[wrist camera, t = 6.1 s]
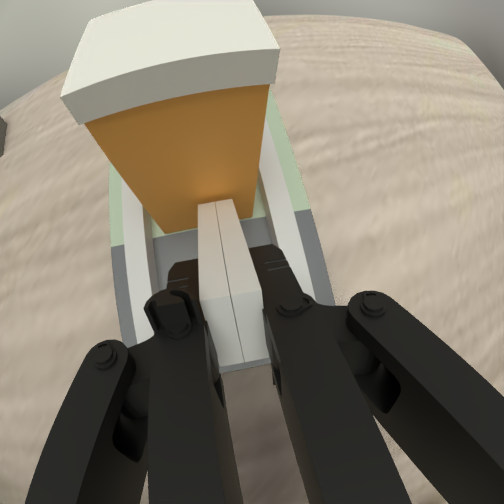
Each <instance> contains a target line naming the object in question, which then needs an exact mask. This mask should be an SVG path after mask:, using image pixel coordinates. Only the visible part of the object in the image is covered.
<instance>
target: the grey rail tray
mask: <svg viewBox="0 0 504 504" xmlns="http://www.w3.org/2000/svg"><path fill="white" fill-rule="evenodd" d="M109 218H110V241H111V256H112V268H113V278H114V287H115V295H116V303H117V310H118V317H119V324H120V330H121V336H122V341H123V344H124V345H125V346H126V347H127V348H129V347H131V346H134V345H136V344H139V343H142V342H144V341H146V340H148V339H149V338H151V337H152V336H153V335H154V331H153V329H152V327H151V325H150V323H149V320H148V318H147V316H146V314H145V311H144V309H143V308H144V306H145V303H146V301H147V300H148V299H149V298H150V297H151V296H152V295H154V294H156V293H157V292H159V291H161V290H164V289H166V288H167V283H168V282H167V279H168V272H169V270H170V269H171V267H172V266H173V265H174V263H175V262H181V261H186V260H191V259H197V258H198V227H197V228H192V229H187V230H182V231H177V232H172V233H167V234H164V232H163V231H162V230H161V228H160V227H159V226H158V225H157V223H156V222H155V221H154V219H153V218H152V217H151V216H150V214H149V213H148V212H147V210H146V209H145V208H144V206H143V205H142V204H141V202H140V201H139V200H138V199H137V197H136V196H135V195H134V193H133V192H132V190H131V189H130V188H129V186H128V185H127V184H126V182H125V181H124V180H123V178H122V177H121V176H120V174H119V173H118V171H117V170H116V169H115V167H114V166H113V164H112V163H111V162H110V168H109ZM239 222H240V225H241V228H242V231H243V234H244V237H245V240H246V243H247V246H248V248H252V247H257V246H263V245H268V244H274V245H275V246H277V247H278V248H280V249H281V250H282V251H283V253H284V255H285V257H286V260H287V261H288V263H289V265H290V267H291V269H292V271H293V273H294V275H295V277H296V279H297V281H298V283H299V285H300V287H301V289H302V291H303V292H304V293H306V294H308V295H310V296H311V297H312V298H313V299H314V300H315V301H316V302H317V303H318V304H322V305H328V306H336V305H335V301H334V297H333V292H332V288H331V284H330V280H329V276H328V272H327V268H326V264H325V260H324V256H323V252H322V248H321V244H320V241H319V237H318V233H317V230H316V226H315V222H314V219H313V215H312V212H311V208H310V205H309V202H308V198H307V195H306V192H305V188H304V185H303V182H302V179H301V175H300V172H299V169H298V166H297V163H296V160H295V157H294V154H293V151H292V148H291V145H290V142H289V139H288V136H287V133H286V130H285V127H284V124H283V121H282V119H281V116H280V113H279V110H278V107H277V105H276V102H275V99H274V97H273V94H272V91H271V90H269V93H268V101H267V108H266V116H265V123H264V131H263V138H262V146H261V154H260V161H259V169H258V177H257V185H256V192H255V200H254V208H253V216H252V217H250V218H245V219H239ZM239 339H240V337H239ZM240 344H241V342H240ZM241 349H242V347H241ZM242 354H243V352H242ZM243 359H244V356H243ZM270 363H271V360H270V356H269V358H264V359H260V360H255V361H249V362H245V361H244V363H239V364H233V365H228V366H222V367H220V366H219V372H220V373H225V372H231V371H236V370H241V369H246V368H251V367H256V366H261V365H266V364H270ZM218 364H219V362H218Z"/></svg>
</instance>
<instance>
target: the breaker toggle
mask: <svg viewBox="0 0 504 504" xmlns="http://www.w3.org/2000/svg"><path fill="white" fill-rule="evenodd" d="M279 53H280V47H279V46H278V44H277V42H276V40H275V38H274V36H273V34H272V32H271V31H270V29H269V27H268V25H267V23H266V22H265V20H264V18H263V16H262V15H261V13H260V11H259V10H258V8H257V6H256V5H255V3H254V1H253V0H153V1H149V2H145V3H141V4H137V5H134V6H130V7H127V8H123V9H120V10H117V11H114V12H111V13H108V14H105V15H103V16H99V17H97V18H94V19H92V20H90V21H89V23H88V25H87V27H86V30H85V32H84V34H83V36H82V38H81V41H80V43H79V45H78V48H77V50H76V53H75V56H74V58H73V61H72V63H71V66H70V68H69V71H68V74H67V77H66V80H65V83H64V86H63V89H62V92H61V96H60V98H61V99H62V101H63V102H64V104H65V105H66V107H67V108H68V110H69V111H70V113H71V114H72V116H73V117H74V119H75V120H76V122H77V123H78V124H79V125H81V124H85V126H86V127H87V129H88V130H89V131H90V133H91V134H92V136H93V137H94V139H95V140H96V142H97V143H98V145H99V146H100V147H101V149H102V150H103V152H104V153H105V155H106V156H107V157H108V159H109V160H110V162H111V163H112V164H113V166H114V167H115V169H116V170H117V171H118V173H119V174H120V176H121V177H122V178H123V180H124V181H125V182H126V184H127V185H128V186H129V188H130V189H131V190H132V192H133V193H134V195H135V196H136V197H137V199H138V200H139V201H140V202H141V204H142V205H143V206H144V208H145V209H146V210H147V212H148V213H149V214H150V216H151V217H152V218H153V219H154V221H155V222H156V223H157V225H158V226H159V227H160V228H161V230H162V231H163V232H164V234H167V233H172V232H177V231H182V230H187V229H192V228H197V227H198V205H199V204H205V203H210V202H216V201H221V200H227V199H232V200H233V203H234V206H235V209H236V212H237V215H238V219H245V218H250V217H252V216H253V208H254V200H255V192H256V185H257V177H258V169H259V161H260V154H261V146H262V138H263V131H264V123H265V116H266V108H267V101H268V93H269V86H270V84H275V79H276V72H277V66H278V59H279ZM215 206H216V204H215ZM216 212H217V210H216ZM217 218H218V216H217Z"/></svg>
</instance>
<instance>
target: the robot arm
mask: <svg viewBox="0 0 504 504" xmlns="http://www.w3.org/2000/svg"><path fill="white" fill-rule="evenodd" d="M215 204H216V206H215ZM216 210H217V212H216ZM217 216H218V218H217ZM167 282H168V283H167V288H166V289H164V290H161V291H159V292H157V293H156V294H154V295H152V296H151V297H150V298H149V299H148V300H147V301H146V303H145V306H144V308H143V309H144V311H145V314H146V316H147V318H148V320H149V323H150V325H151V327H152V329H153V331H154V335H153V336H152V337H151V338H149V339H148V340H146V341H144V342H142V343H139V344H136V345H134V346H131V347H129V348H127V347H126V346H125V345H124V344H123V343H122V342H121V341H118V340H105V341H103V342H100V343H98V344H97V345H95V346H94V347H93V348H91V350H90V351H89V352H88V354H87V355H86V357H85V359H84V360H83V362H82V364H81V366H80V368H79V370H78V372H77V374H76V376H75V378H74V380H73V382H72V384H71V386H70V388H69V391H68V393H67V395H66V397H65V399H64V401H63V403H62V406H61V408H60V410H59V412H58V415H57V417H56V419H55V421H54V424H53V426H52V428H51V431H50V433H49V436H48V438H47V441H46V443H45V446H44V448H43V451H42V454H41V456H40V459H39V462H38V464H37V467H36V470H35V473H34V476H33V479H32V482H31V485H30V488H29V491H28V494H27V498H26V501H25V504H140V500H141V495H142V491H143V486H144V482H145V478H146V474H147V470H148V490H149V504H244V503H243V498H242V493H241V488H240V483H239V478H238V473H237V467H236V462H235V456H234V450H233V445H232V439H231V433H230V427H229V420H228V414H227V407H226V401H225V394H224V387H223V381H222V378H221V375H220V372H219V366H220V367H222V366H228V365H233V364H239V363H244V361H245V362H249V361H255V360H260V359H264V358H269V356H270V360H271V365H272V375H273V385H276V388H277V391H278V395H279V399H280V402H281V406H282V409H283V413H284V417H285V420H286V424H287V427H288V431H289V434H290V438H291V441H292V445H293V448H294V452H295V455H296V459H297V462H298V466H299V469H300V473H301V476H302V480H303V483H304V487H305V490H306V494H307V497H308V500H309V504H412V503H411V501H410V498H409V496H408V494H407V491H406V489H405V486H404V484H403V482H402V479H401V477H400V475H399V473H398V470H397V468H396V466H395V463H394V461H393V459H392V457H391V454H390V452H389V450H388V448H387V445H386V443H385V441H384V439H383V437H382V434H381V432H380V430H379V428H378V426H377V424H376V422H375V419H374V417H375V418H376V419H377V420H378V422H379V423H380V424H381V425H382V426H383V428H384V429H385V430H386V431H387V432H388V433H389V435H390V436H391V437H392V438H393V439H394V441H395V442H396V443H397V444H398V445H399V446H400V448H401V449H402V450H403V451H404V452H405V453H406V455H407V456H408V457H409V458H410V459H411V461H412V462H413V463H414V464H415V465H416V466H417V468H418V469H419V470H420V471H421V472H422V473H423V475H424V476H425V477H426V478H427V479H428V480H429V481H430V483H431V484H432V485H433V486H434V487H435V488H436V490H437V491H438V492H439V493H440V494H441V495H442V496H443V498H444V499H445V500H446V501H447V502H448V503H449V504H504V397H503V396H502V395H501V394H500V393H499V392H498V391H497V390H496V389H495V388H494V387H493V386H492V385H491V384H490V383H489V382H488V381H487V380H485V379H484V378H483V377H482V376H481V375H480V374H479V373H478V372H477V371H476V370H475V369H474V368H472V367H471V366H470V365H469V364H468V363H467V362H466V361H465V360H464V359H463V358H461V357H460V356H459V355H458V354H457V353H456V352H455V351H454V350H452V349H451V348H450V347H449V346H448V345H447V344H446V343H444V342H443V341H442V340H441V339H440V338H439V337H438V336H436V335H435V334H434V333H433V332H432V331H431V330H429V329H428V328H427V327H426V326H425V325H423V324H422V323H421V322H420V321H419V320H418V319H416V318H415V317H414V316H413V315H412V314H410V313H409V312H408V311H407V310H405V309H404V308H403V307H402V306H401V305H399V304H398V303H397V302H396V301H394V300H393V299H392V298H391V297H389V296H387V295H386V294H384V293H381V292H377V291H363V292H360V293H357V294H356V295H354V296H353V297H352V298H351V299H350V301H349V303H348V306H328V305H322V304H318V303H317V302H316V301H315V300H314V299H313V298H312V297H311V296H310V295H308V294H306V293H304V292H303V291H302V289H301V287H300V285H299V283H298V281H297V279H296V277H295V275H294V273H293V271H292V269H291V267H290V265H289V263H288V261H287V260H286V257H285V255H284V253H283V251H282V250H281V249H280V248H278V247H277V246H275V245H274V244H268V245H263V246H257V247H252V248H248V246H247V243H246V240H245V237H244V234H243V231H242V228H241V225H240V222H239V219H238V215H237V212H236V209H235V206H234V203H233V200H232V199H227V200H221V201H216V202H210V203H205V204H199V205H198V258H197V259H191V260H186V261H181V262H175V263H174V265H173V266H172V267H171V269H170V270H169V272H168V279H167ZM239 337H240V339H239ZM240 342H241V344H240ZM241 347H242V349H241ZM242 352H243V354H242ZM243 356H244V359H243ZM218 362H219V364H218ZM372 414H373V415H372ZM373 416H374V417H373Z"/></svg>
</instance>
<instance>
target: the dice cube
mask: <svg viewBox="0 0 504 504" xmlns="http://www.w3.org/2000/svg"><path fill="white" fill-rule="evenodd" d="M6 128H7V123H6V122H5V121H4V120H3V119H2V118H1V117H0V157H1V156H2V155H3V151H4V143H5V135H6Z"/></svg>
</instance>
